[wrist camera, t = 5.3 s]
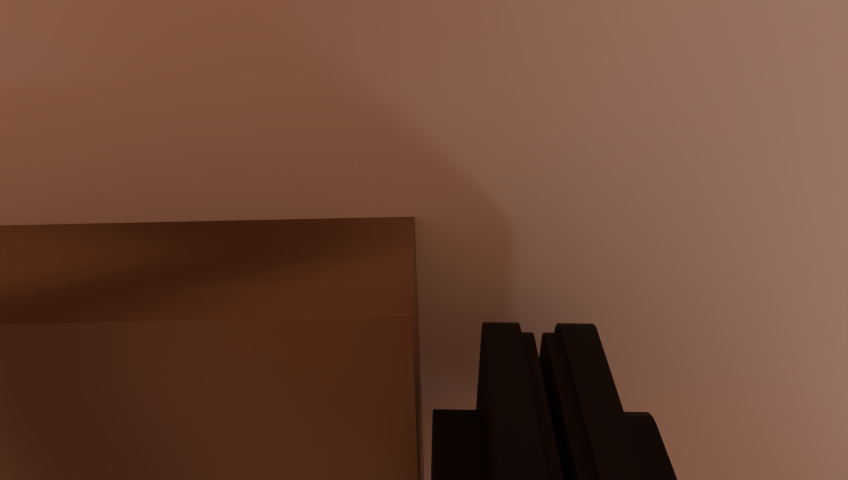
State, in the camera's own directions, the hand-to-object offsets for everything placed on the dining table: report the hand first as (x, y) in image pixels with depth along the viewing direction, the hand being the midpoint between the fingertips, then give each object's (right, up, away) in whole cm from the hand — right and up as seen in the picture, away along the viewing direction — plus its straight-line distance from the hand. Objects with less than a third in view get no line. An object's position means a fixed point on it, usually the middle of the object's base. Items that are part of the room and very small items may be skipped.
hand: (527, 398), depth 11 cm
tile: (-6, 0, +1) cm, 6 cm away
